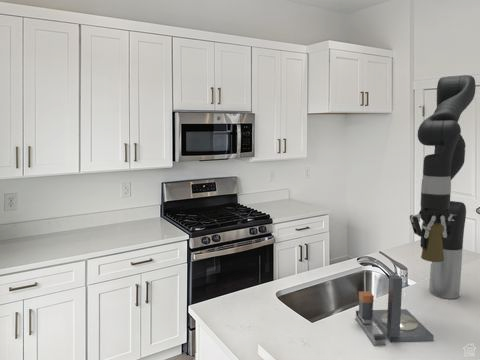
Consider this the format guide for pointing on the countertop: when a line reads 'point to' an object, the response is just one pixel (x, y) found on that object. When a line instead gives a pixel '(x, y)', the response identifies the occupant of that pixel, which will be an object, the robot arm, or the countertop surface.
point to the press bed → (399, 318)
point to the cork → (434, 244)
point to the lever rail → (372, 332)
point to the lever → (366, 307)
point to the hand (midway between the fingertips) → (432, 249)
